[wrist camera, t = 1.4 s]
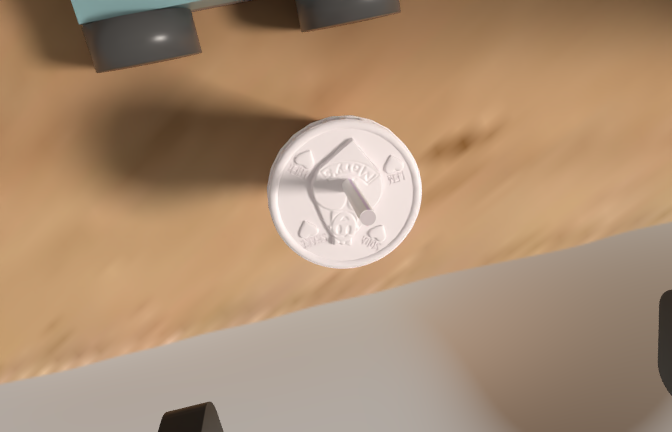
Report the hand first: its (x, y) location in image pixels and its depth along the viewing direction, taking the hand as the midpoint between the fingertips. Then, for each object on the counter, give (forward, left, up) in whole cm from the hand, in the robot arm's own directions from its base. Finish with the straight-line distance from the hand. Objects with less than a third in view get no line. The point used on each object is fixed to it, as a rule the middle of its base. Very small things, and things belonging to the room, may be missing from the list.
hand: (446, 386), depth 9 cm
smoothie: (0, 0, -22) cm, 22 cm away
